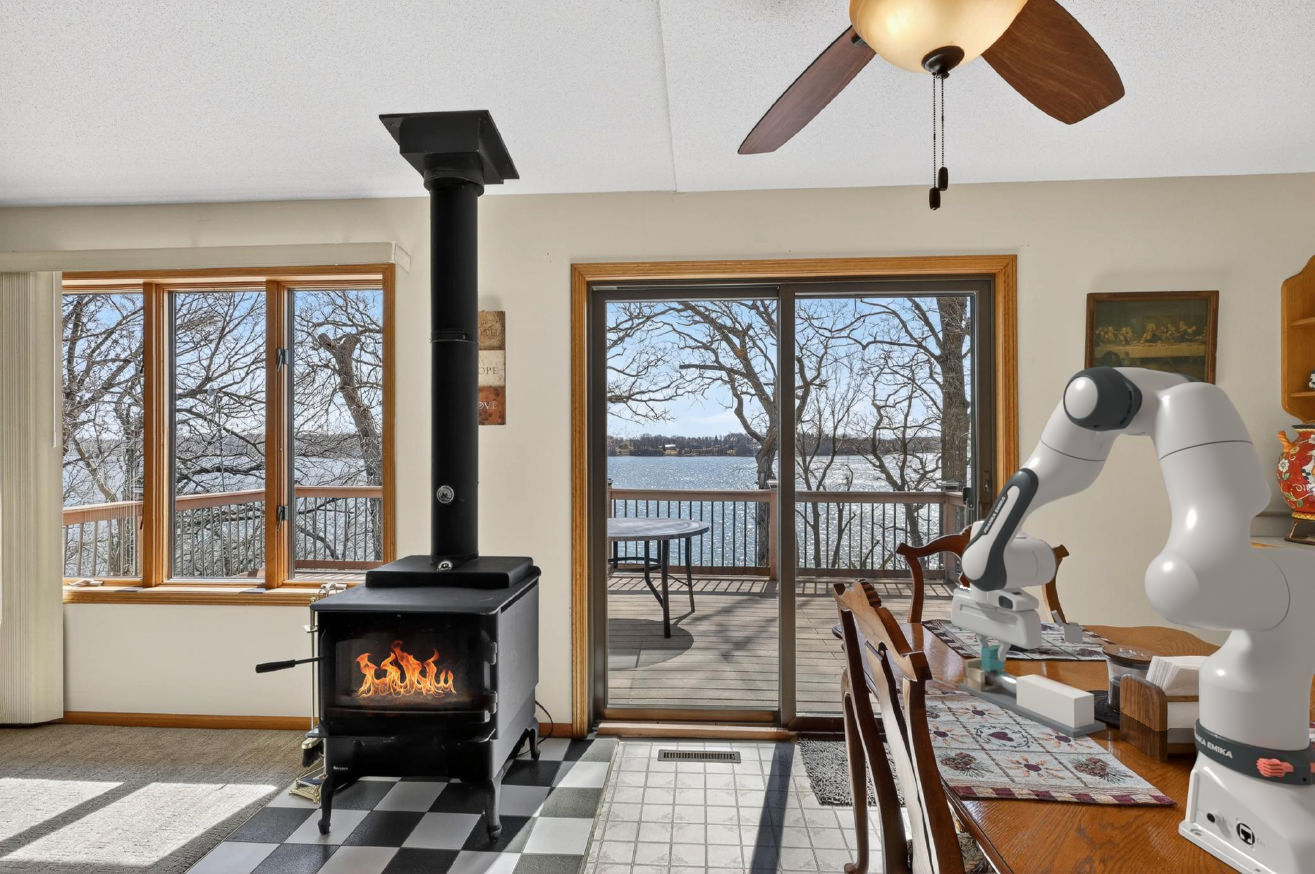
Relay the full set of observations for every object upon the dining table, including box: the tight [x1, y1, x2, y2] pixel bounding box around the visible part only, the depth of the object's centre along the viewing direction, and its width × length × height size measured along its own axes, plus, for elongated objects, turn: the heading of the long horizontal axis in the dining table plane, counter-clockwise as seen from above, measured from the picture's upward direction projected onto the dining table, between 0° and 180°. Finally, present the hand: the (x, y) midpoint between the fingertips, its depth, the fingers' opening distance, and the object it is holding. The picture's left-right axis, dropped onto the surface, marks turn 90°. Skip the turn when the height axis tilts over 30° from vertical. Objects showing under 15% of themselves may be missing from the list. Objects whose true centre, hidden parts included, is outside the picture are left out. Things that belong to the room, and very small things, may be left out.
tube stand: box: [957, 673, 1107, 738], centre depth 133 cm, size 26×9×6 cm, turn 22°
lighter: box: [1050, 609, 1084, 644], centre depth 178 cm, size 7×2×8 cm, turn 63°
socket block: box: [962, 656, 1005, 691], centre depth 143 cm, size 4×7×5 cm, turn 112°
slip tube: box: [979, 644, 1018, 694], centre depth 136 cm, size 15×4×8 cm, turn 22°
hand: (993, 657), depth 140 cm, fingers closed on slip tube, 2 cm apart
